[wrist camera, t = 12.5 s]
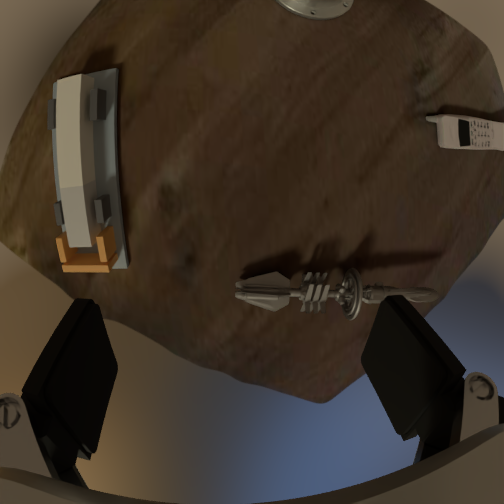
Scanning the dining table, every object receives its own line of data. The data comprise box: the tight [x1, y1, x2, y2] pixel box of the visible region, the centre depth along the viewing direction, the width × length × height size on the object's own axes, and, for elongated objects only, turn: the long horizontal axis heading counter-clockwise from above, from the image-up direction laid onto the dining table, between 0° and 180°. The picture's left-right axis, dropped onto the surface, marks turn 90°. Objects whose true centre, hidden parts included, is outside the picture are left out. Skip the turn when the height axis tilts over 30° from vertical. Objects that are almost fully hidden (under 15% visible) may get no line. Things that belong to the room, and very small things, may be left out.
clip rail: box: [48, 68, 129, 272], centre depth 31 cm, size 28×10×5 cm, turn 178°
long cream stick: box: [56, 74, 102, 247], centre depth 29 cm, size 22×4×4 cm, turn 178°
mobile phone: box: [426, 114, 504, 151], centre depth 33 cm, size 6×6×25 cm
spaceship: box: [235, 268, 439, 320], centre depth 41 cm, size 8×35×8 cm
